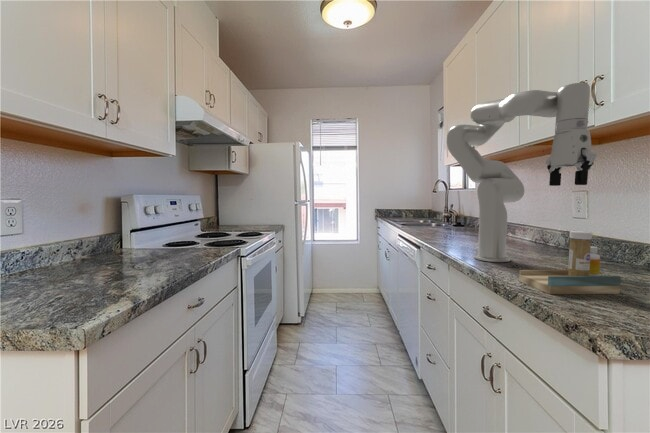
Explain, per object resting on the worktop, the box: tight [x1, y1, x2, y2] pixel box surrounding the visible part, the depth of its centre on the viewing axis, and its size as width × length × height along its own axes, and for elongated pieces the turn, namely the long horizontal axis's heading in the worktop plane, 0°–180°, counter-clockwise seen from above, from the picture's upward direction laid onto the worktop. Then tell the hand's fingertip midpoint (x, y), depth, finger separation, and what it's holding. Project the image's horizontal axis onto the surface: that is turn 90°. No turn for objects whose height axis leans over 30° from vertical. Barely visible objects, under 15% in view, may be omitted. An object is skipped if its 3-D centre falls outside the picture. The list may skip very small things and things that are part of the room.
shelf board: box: [518, 269, 622, 295], centre depth 83 cm, size 12×18×4 cm, turn 91°
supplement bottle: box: [589, 245, 601, 276], centre depth 91 cm, size 5×5×10 cm
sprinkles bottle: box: [568, 230, 593, 276], centre depth 81 cm, size 5×5×14 cm
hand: (567, 185), depth 92 cm, fingers open, 9 cm apart
